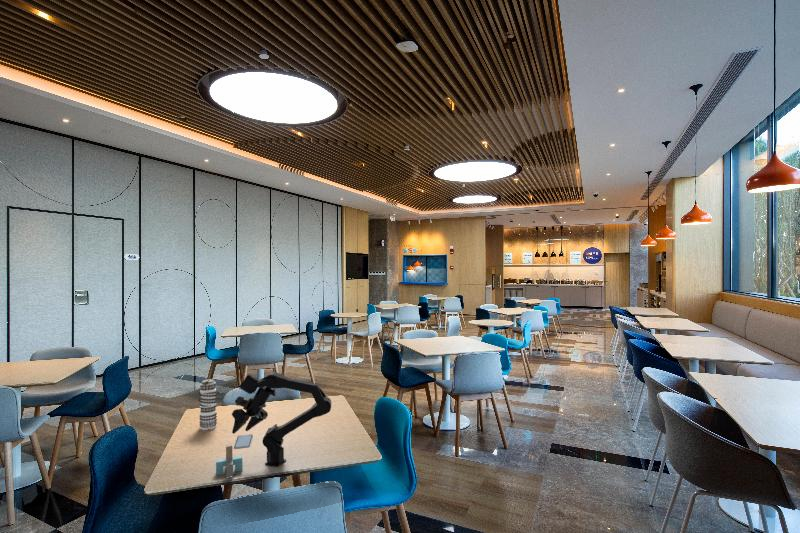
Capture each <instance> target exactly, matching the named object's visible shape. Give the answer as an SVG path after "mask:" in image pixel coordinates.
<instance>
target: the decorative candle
mask: <svg viewBox="0 0 800 533" xmlns="http://www.w3.org/2000/svg"><path fill="white" fill-rule="evenodd" d="M216 384H217V381H215V380H214V379H211V378H209V379H203V380H202V381H201V382H200V383H199V386H200V387H199V388H200V390H199V392H198V402H199V407H200V410H199V430H201V429H202V431H206V430H207V431H208V429H209V430H212V429H215V428H217V426H218V422H217V421H218V419H217V414H218V413H217V409H216V408H217V405H218V404H217V402H218V401H217V399H218V397H217V396H218V394H217V393H218V391H217V387H216Z"/></svg>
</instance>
